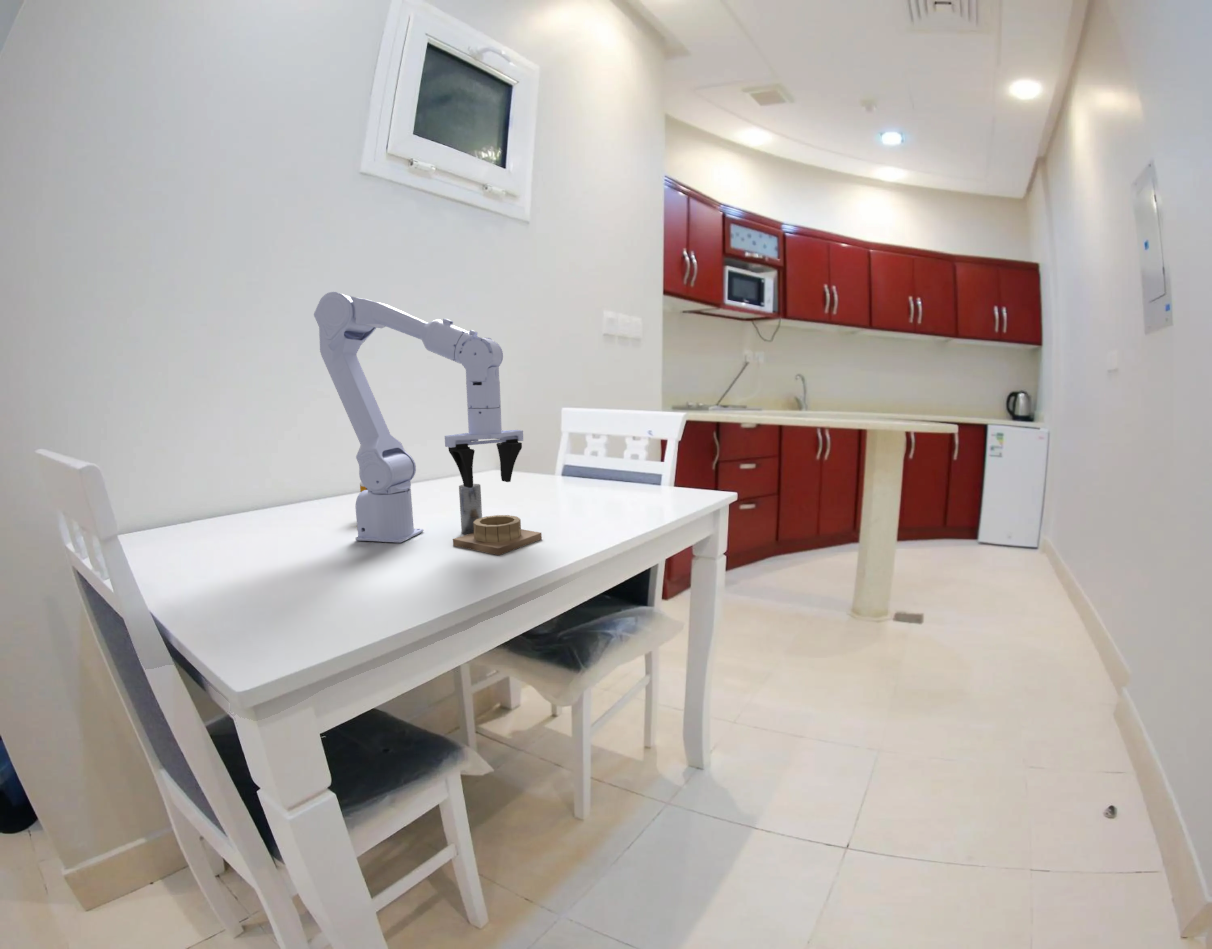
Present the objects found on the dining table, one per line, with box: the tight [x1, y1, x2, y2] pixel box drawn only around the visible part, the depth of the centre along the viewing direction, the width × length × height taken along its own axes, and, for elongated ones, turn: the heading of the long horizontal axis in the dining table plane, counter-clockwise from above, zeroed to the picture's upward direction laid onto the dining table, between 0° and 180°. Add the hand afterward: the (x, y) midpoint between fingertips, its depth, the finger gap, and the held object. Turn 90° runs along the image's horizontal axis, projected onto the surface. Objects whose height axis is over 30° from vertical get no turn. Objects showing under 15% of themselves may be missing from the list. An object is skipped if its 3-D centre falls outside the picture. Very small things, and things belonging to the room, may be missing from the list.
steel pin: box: [458, 483, 483, 535], centre depth 107 cm, size 4×4×9 cm
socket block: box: [452, 514, 543, 556], centre depth 100 cm, size 11×11×4 cm
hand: (487, 484), depth 100 cm, fingers open, 7 cm apart
